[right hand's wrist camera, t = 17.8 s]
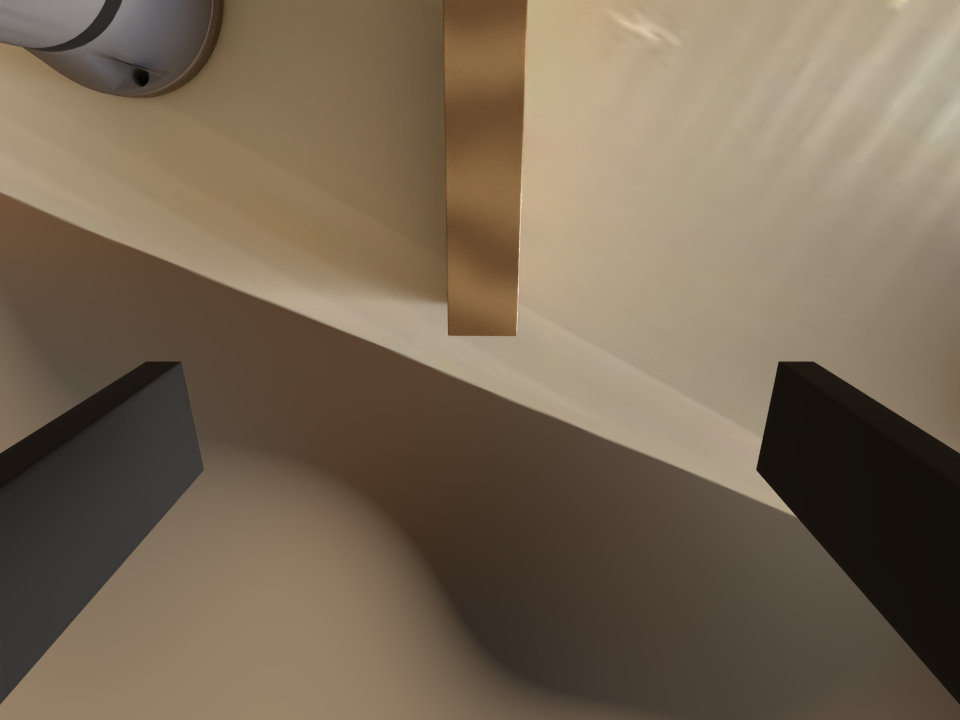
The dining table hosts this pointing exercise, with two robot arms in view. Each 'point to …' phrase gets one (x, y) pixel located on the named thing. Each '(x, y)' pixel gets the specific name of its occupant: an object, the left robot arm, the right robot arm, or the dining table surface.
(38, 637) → the right robot arm
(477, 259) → the beam
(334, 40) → the dining table surface
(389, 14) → the dining table surface
